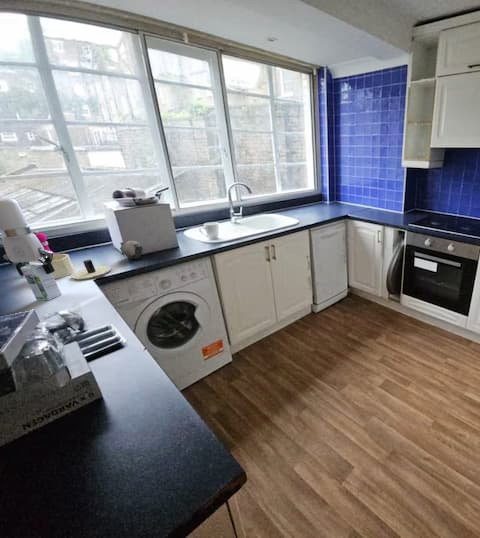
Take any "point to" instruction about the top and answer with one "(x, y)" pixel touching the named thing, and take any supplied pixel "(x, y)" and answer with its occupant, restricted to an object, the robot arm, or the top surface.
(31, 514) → the top surface
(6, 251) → the robot arm
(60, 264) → the pot
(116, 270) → the top surface
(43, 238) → the pepper mill
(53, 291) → the syrup box
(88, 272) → the lid
